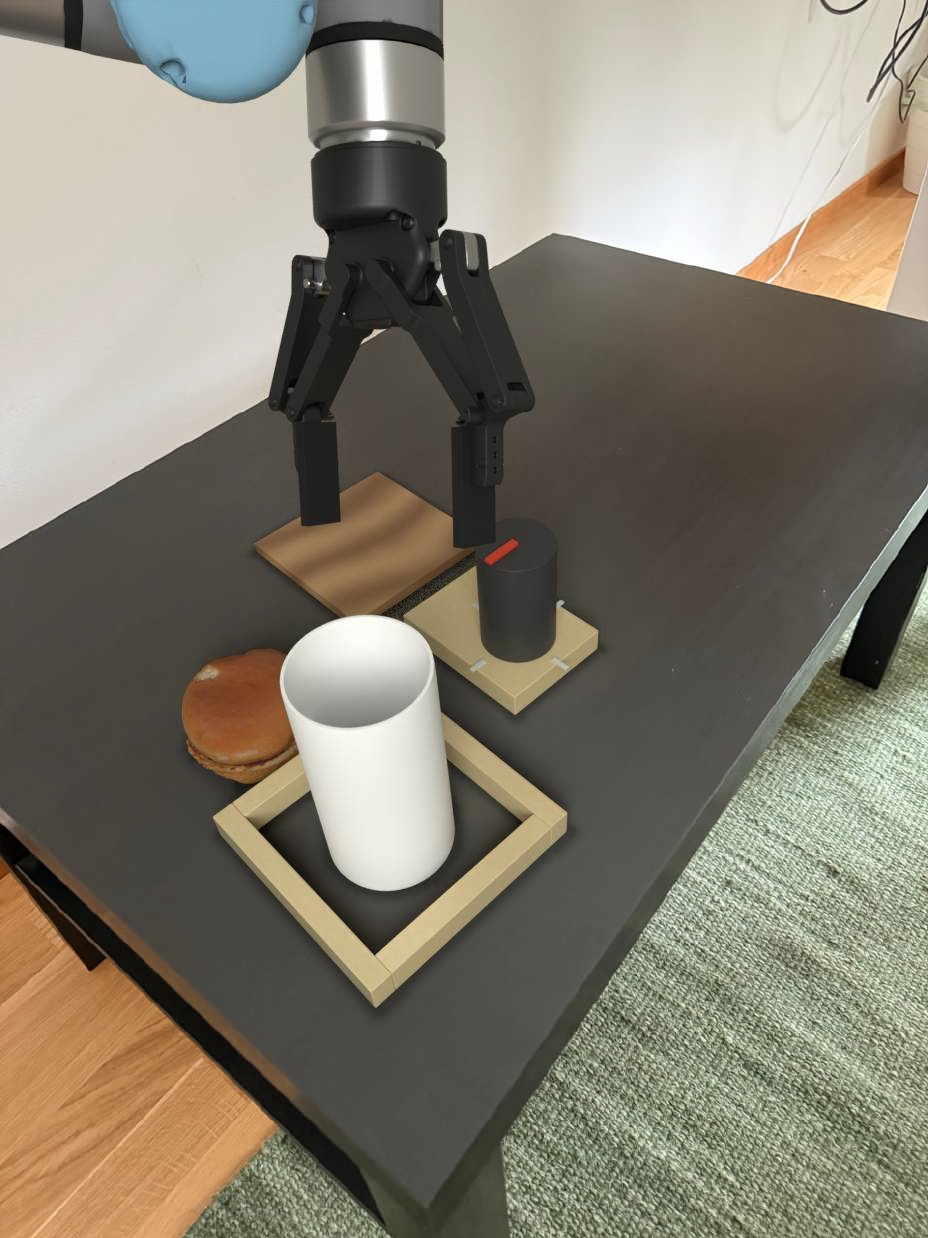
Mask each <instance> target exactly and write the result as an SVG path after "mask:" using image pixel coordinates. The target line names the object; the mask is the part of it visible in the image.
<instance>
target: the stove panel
mask: <svg viewBox="0 0 928 1238" xmlns="http://www.w3.org/2000/svg"><path fill="white" fill-rule="evenodd" d="M564 604H565V601H564V600H562V599H559V600H558V601H557V603H556V639H555V642H554V645H553V646H552V648H551V649H550V650H549V651H548V652H547V653H546V654H545V655H544V656H542V657H540V658H538V659H536V660H533V661H529V662H523V663H512V662H506V661H503V660H500V659H498V658H496V657H494V656H492V655H491V654H490V653H489V652H488V651H487V650H486V649H485V648H484V646H483V644H482V641H481V633H480V618H479V603H478V587H477V572H476V565H474V566H473V567H471V568H470V569H469V570H467V571H466V572H464V573H463V574H460V576H458V577H457V578H455V579H454V580H452V581H451V582H449V583H448V584H447V585H445V586H444V587H442V588H441V589H440V590H438V591H437V592H435V593H434V594H432V595H430V596H429V597H428V598H426V599H425V600H423V601H422V602H420V603H419V604H417V605H416V606H415V607H413V608H412V609H410V610H409V611H408V612H406V613H404V614H403V616H402V617H403V622H404V623H406V624H407V625H409V626H411V627H412V628H414V629H415V630H416V631H418V632H419V633H420V634H421V635H422V636H423V637H424V639H425V640H426V641H427V643H428V645H429V646H430V649H431V651H432V654H433V655H435V656H436V657H437V658H439V659H440V660H441V661H442V662H444V663H445V664H447V665H448V666H449V667H450V668H452V669H453V670H455V672H457V673H458V674H460V675H461V676H463V678H465V679H466V680H468V681H469V682H470V683H472V684H473V685H474V686H476V687H477V688H478V689H480V690H481V691H482V692H483V693H484V694H486V695H487V696H489V697H490V698H491V699H493V700H494V701H496V702H497V703H498V704H500V705H501V706H502V707H504V708H505V709H506V710H508V711H509V712H510V713H512V714H513V715H514V716H516V715H518V713H520V712H521V711H523V710H524V709H525V708H526V707H527V706H529V705H530V704H531V703H532V702H534V700H536V699H537V698H539V697H540V696H541V695H543V693H545V692H546V691H547V690H549V688H550V687H552V686H553V685H555V684H556V683H557V682H558V681H560V680H561V679H562V678H563V677H564V676H565V675H567V674H568V673H569V672H570V671H571V670H573V669H574V668H575V667H577V666H578V665H579V664H580V663H581V662H583V661H584V660H585V659H586V658H588V657H589V656H590V655H591V654H593V653H595V651H596V650H597V649H598V645H599V630H598V629H596V628H595V627H594V626H592V625H590V624H589V623H587V622H586V621H584V620H582V619H581V618H579V617H578V616H576V615H575V614H573V613H572V612H570V611H568V610H567V609H566V608H564V607H563V606H562V605H564Z"/></svg>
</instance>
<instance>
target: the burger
mask: <svg viewBox="0 0 928 1238" xmlns="http://www.w3.org/2000/svg"><path fill="white" fill-rule="evenodd" d="M287 655H288V654H286V653H284V652H282V651H279V650H276V649H274V648H257V649H251V650H248V651H247V652H246V653H242V654H241V653H240V654H233V655H232V654H231V655H228V656H224V657H220V658H217V659H215V660H212V661H211V662H208V663H207V664H206V665H205V666H203V667H202V668H201V670H200V671H199V672H197V673H196V674H195V676H194V677H193V678H192V679H191V681H189V683H188V685H187V687H186V690H185V691H184V694H183V696H182V701H181V721H182V726H183V729H184V732H185V734H186V736H187V739H186V742H185V743H186V745H187V752H188V753H189V754H190V755H191V756H192V757H193V758H194V759H195V760H196V761H197V764H201V765H202V767H203V768H206V769H207V770H210V771H212V772H213V773H215V775H218V776H221V777H223V778H225V779H228V780H234V781H237V782H238V783H240V784H255V783H260V782H261V781H262V780H264V779H265V778H267V777H268V776H269V775H271V774H272V773H273V772H275V771H276V770H278V769H279V768H280V767H282V766H283V765H284V764H286V763H287V762H289V761H290V760H291V759H293V758H294V757H295V756H297V755H298V754H299V750H298V747H297V744H296V741H295V737H294V734H293V731H292V728H291V724H290V721H289V718H288V715H287V711H286V708H285V705H284V701H283V698H282V694H281V687H280V674H281V669H282V666H283V663H284V661H285V659H286V657H287Z"/></svg>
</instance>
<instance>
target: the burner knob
mask: <svg viewBox="0 0 928 1238" xmlns="http://www.w3.org/2000/svg"><path fill="white" fill-rule="evenodd" d="M558 543H559V541H558V538H557V535H556V534H555V532H554V531H553V530H552V529H551V528H550V527H549V526H547V525H546V524H545V523H543V522H541V521H539V520H536V519H532V518H527V517H508V518H502V519H499V520H496V542H495V543H490V544H485V545H480V546H475V551H474V555H475V557H474V558H475V566H476V572H477V587H478V603H479V618H480V633H481V641H482V644H483V646H484V648H485V649H486V650H487V651H488V652H489V653H490V654H491V655H492V656H494V657H496V658H498V659H500V660H503V661H506V662H512V663H523V662H529V661H533V660H536V659H538V658H540V657H542V656H544V655H545V654H546V653H547V652H548V651H549V650H550V649H551V648H552V646H553V645H554V642H555V639H556V603H557V602H558V601H557V599H558V597H557V595H558V594H557V593H558V546H559V545H558Z"/></svg>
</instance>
